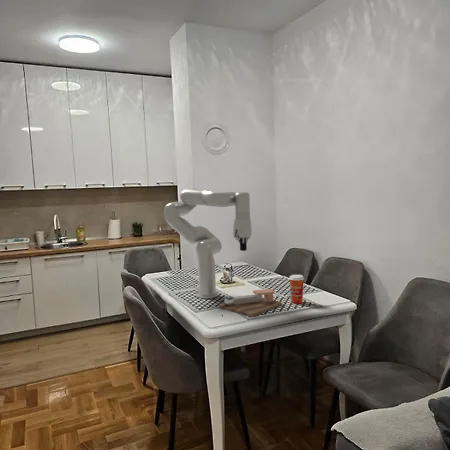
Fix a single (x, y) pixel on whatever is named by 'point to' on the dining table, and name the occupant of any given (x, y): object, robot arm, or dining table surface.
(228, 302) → the link
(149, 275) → the dining table surface
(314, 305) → the dining table surface
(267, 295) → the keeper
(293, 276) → the paper cup
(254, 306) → the board
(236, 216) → the robot arm
